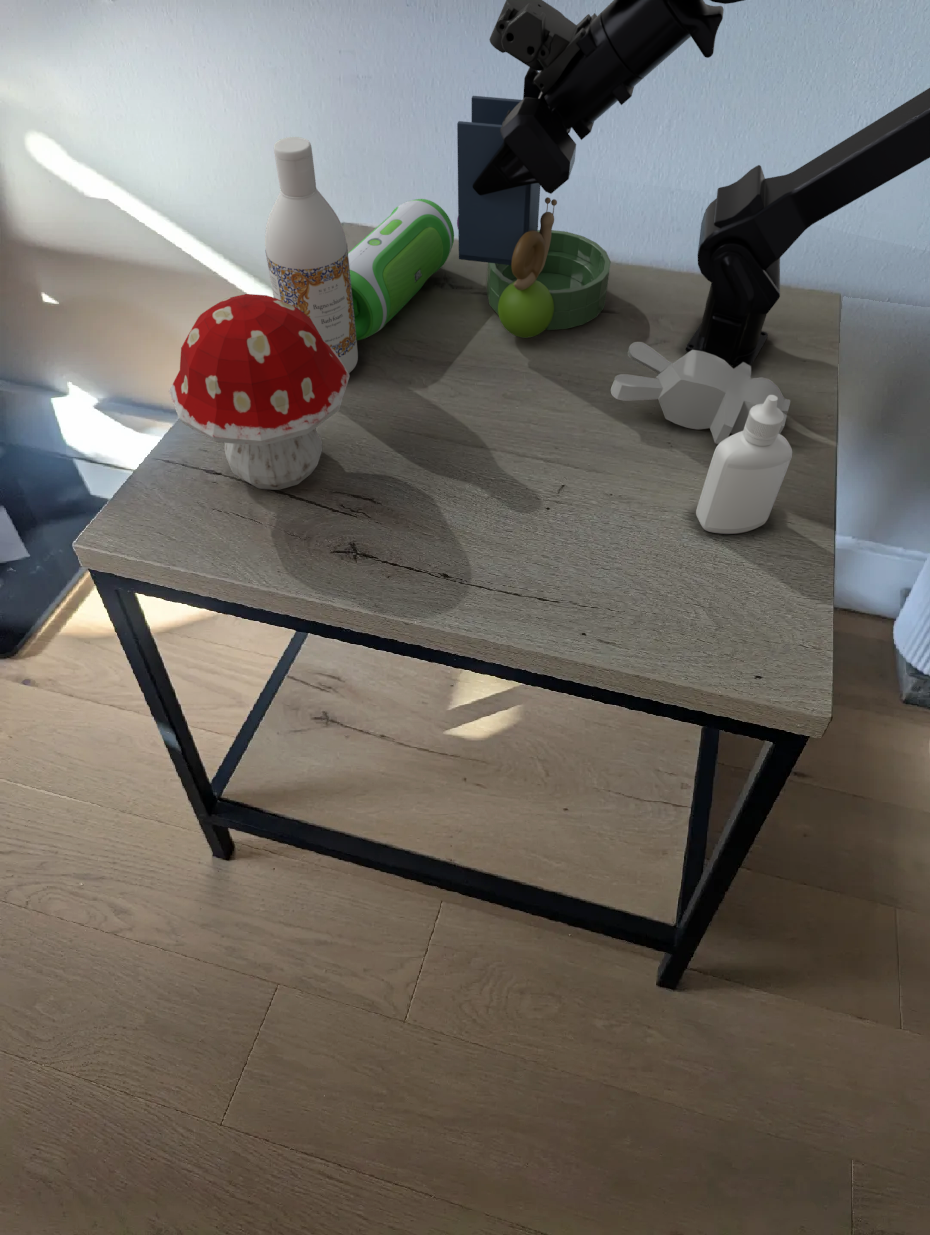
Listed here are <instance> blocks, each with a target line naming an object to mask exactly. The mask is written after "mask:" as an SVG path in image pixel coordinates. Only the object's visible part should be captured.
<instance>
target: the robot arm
mask: <svg viewBox="0 0 930 1235" xmlns="http://www.w3.org/2000/svg"><path fill="white" fill-rule="evenodd" d="M709 1H711V2H712V3H717V4H722V5H727V4H735V3H739V2H744V1H745V0H709ZM722 5H710V4H707V3H706V2H705V0H612V2H610V3H609V4H608V5H607V6H606V7H605V8H604V9H603V10H602V11H601V12H600V13H598V15H597V14H596V13H593V14H592V15H590V13H588V14H586V15H585V16H584V18H582V20H580V21H579V22H578V23H577V24H575V22H573V21H571V20H570V19H569V18H568V17H566V16H565V15H564V14H563V13H562V12H560V10H558V9H557V8H555V7H553V6H552V5H550V3H547V2H546V1H545V0H505V2H504V4H503V7H502V8H501V11H500V14H499V15H498V18H497V20H496V22H495V25H494V27H493V30H492V32H491V34H490V37H489V43H490V44H491V46H492V47H493V48H494V49H495V50H497V51H498V52H500V53H502V54H504V53H507V54H508V55H510V56H511V57H512V58H515V59H516V60H518V61H519V62H521V63H522V64H524V65H526V66H527V67H528V70H527V71H526V74H525V76H524V80H523V94H522V99H521V100H522V101H521V102H519V103H518V104H517V105H516V106H515V107H514V109H513V110H512V111H510V110H509V111H508V113H507V115H506V117H505V119H504V121H503V124H502V127H501V129H500V133H501V135H502V138H503V140H504V142H503V144H502V145H501V146H500V148H499V149H498V150H497V152H496V153H495V155H494V156H493V157H492V159H491V160H490V161H489V163H488V164H487V165H486V167H485V168H484V169H483V171H482V172H481V174H480V175H479V176H478V178H477V179H476V180H475V182H474V183H473V189H474V190H475V191H476V192H477V193H478V194H479V195H485V194H489V193H493V192H497V191H502V190H506V189H510V188H514V187H519V186H524V185H529V184H535V183H539V184H540V188H542V189H543V191H544V192H545V193H548V194H550V195H552V194H553V193H554V192H556V190H558V189H559V188H560V187H561V186H563V184H565V183H566V182H568V181H569V179H570V176H571V173H572V170H573V167H574V164H575V162H576V152H577V143H576V142H575V141H574V139H573V138H572V137H571V135H570V133H571V131H572V130H573V131H574V133H575V134H576V135H577V136H578V138H579V139H580V140H581V141H582V140H583V139H584V138H586V137H587V136H588V135H590V134H591V133H592V130H593V126H594V123H595V121H597V120H599V118H600V117H601V116H603V114H605V113H606V112H607V111H608V110H609V109H611V107H613V106H614V105H615V104H616V103H617V102H618V103H619V105H620V106H623V105H624V104H625V103H626V102H627V101H629V99H630V98H632V96H633V93H634V89H635V86H636V85H638V84H639V83H640V82H641V81H643V79H644V78H646V76H648V75H649V74H650V73H651V72H652V71H654V70H655V69H656V68H657V67H658V66H660V65H661V63H663V62H664V61H665V60H666V59H667V58H668V57H670V55H672V54H673V53H674V52H675V51H676V50H677V49H679V48H680V47H681V46H682V45H684V44H685V43H686V42H687V41H688V40H689V39H690V38H691V39H692V41H693V42H694V43H695V45H696V46H697V48H698V49H699V51H700V52H701V55H703V57H704V58H706V59H708V58H709V59H710V58H711V57H712V56H713V55H714V52H715V46H716V45H715V44H716V37H717V34H718V30H719V28H720V25H721V23H722V21H723V19H724V12H725V11H724V10H725V9H724V7H723V6H722ZM928 159H930V87H928V88H926V89H925V90H923V91H922V92H921V93H919V94H917V95H916V96H913V97H912V98H910V99H909V100H907V101H906V102H904V103H903V104H900V105H899V106H897V107H896V108H894V109H893V110H891V111H889V112H888V113H886V114H885V115H883V116H881V117H880V118H878V119H877V120H875V121H873V122H872V123H870V124H868V125H867V126H865V127H864V128H862V129H860V130H859V131H857V132H856V133H853V134H852V135H851V136H849V137H847V138H845V139H844V140H842V141H841V142H839V143H837V144H836V145H834V146H832V147H831V148H829V149H828V150H825V151H824V152H823V153H821V154H819V155H818V156H816V157H815V158H813V159H812V160H810V161H808V162H806V163H805V164H803V165H801V166H800V167H798V168H797V169H795V170H794V171H792V172H789V173H787V174H783V175H777V176H772V177H766V178H765V174H764V171H763V168H762V166H761V164H758V165H756V166H754V167H753V168H751V169H750V170H749V171H747V172H746V173H745V174H744V175H743V176H741V177H740V178H739V179H738V180H737V181H735V182H732V183H731V184H729V185H725V186H719V187H717V191H716V198H714V200H712V201H711V202H710V203H709V205H708V206H707V207H706V208H705V210H704V213H703V216H702V220H701V223H700V229H699V230H700V231H699V241H698V246H697V247H698V248H697V266H698V269H699V271H700V273H701V275H702V276H703V277H704V278H705V279H706V280H707V281H708V282H710V283H711V284H710V287H709V291H708V295H707V299H706V302H705V307H704V311H703V315H702V318H701V319H702V320H701V322H700V324H699V326H698V327H697V329H696V330H695V332H694V333H693V335H692V336H691V338H690V339H689V341H688V342H687V343H686V346H685V352H687V353H688V352H690V351H691V350H697V351H703V352H706V353H709V354H712V355H715V356H717V357H719V358H721V359H723V360H725V361H726V362H727V363H728V364H729V365H730V366H731V367H734V368H736V367H737V366H739V365H740V364H741V363H743V362H744V363H746V364H748V365H750V366H751V367H752V366H753V364H754V362H755V361H756V359H757V357H758V356H759V354H760V352H761V350H762V348H763V347H764V345H765V343H766V341H767V339H768V336H769V333H768V332H767V331H764V330H763V327H764V325H765V321H766V318H767V315H768V314H769V312H770V311H771V309H772V308H773V307H774V306H775V305H776V303H777V302H778V300H779V299H780V297H781V257H782V256H784V254H785V253H786V252H787V251H788V250H789V249H790V248H791V246H792V245H793V244H794V243H795V242H796V241H797V240H798V239H799V238H800V237H801V236H802V235H803V234H804V232H805V231H806V230H807V229H808V228H810V227H811V226H812V225H814V224H816V223H817V222H820V221H821V220H823V219H824V218H826V217H828V216H830V215H832V214H833V213H835V212H837V211H838V210H840V209H843V208H844V207H846V206H848V205H849V204H851V203H853V202H854V201H857V200H858V199H860V198H861V197H863V196H865V195H867V194H868V193H870V192H872V191H874V190H875V189H878V188H879V187H881V186H883V185H885V184H886V183H888V182H890V181H891V180H893V179H895V178H897V177H899V176H900V175H902V174H904V173H906V172H907V171H909V170H911V169H914V167H916V166H918V165H920V164H921V163H923V162H925V161H928Z"/></svg>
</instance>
